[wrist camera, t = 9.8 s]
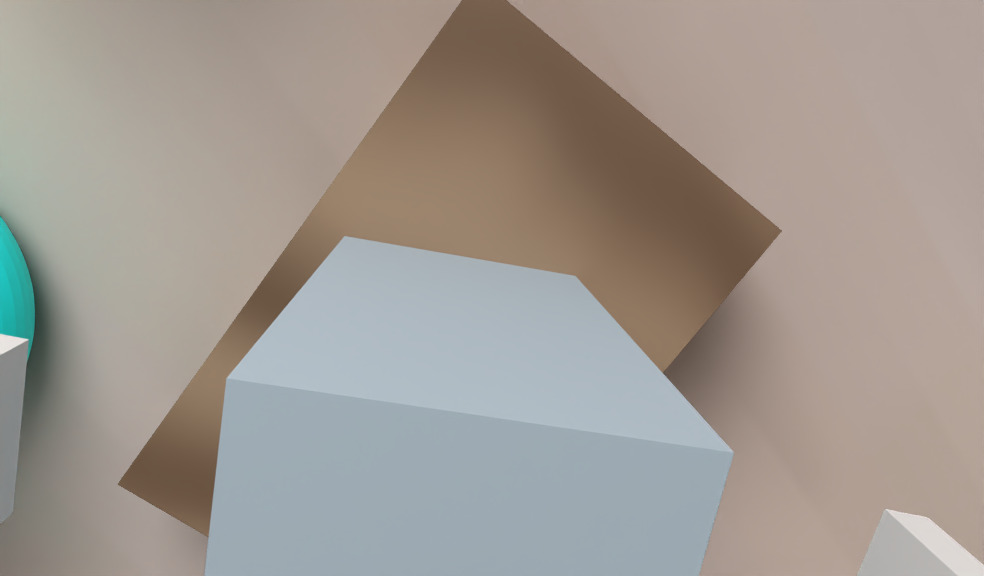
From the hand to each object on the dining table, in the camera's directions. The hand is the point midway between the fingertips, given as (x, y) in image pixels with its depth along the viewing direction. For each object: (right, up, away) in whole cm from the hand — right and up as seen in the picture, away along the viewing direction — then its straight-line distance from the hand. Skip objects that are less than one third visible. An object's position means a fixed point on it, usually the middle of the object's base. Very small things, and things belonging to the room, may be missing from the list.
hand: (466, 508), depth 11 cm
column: (-1, +1, +8) cm, 8 cm away
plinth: (-1, +3, +13) cm, 13 cm away
